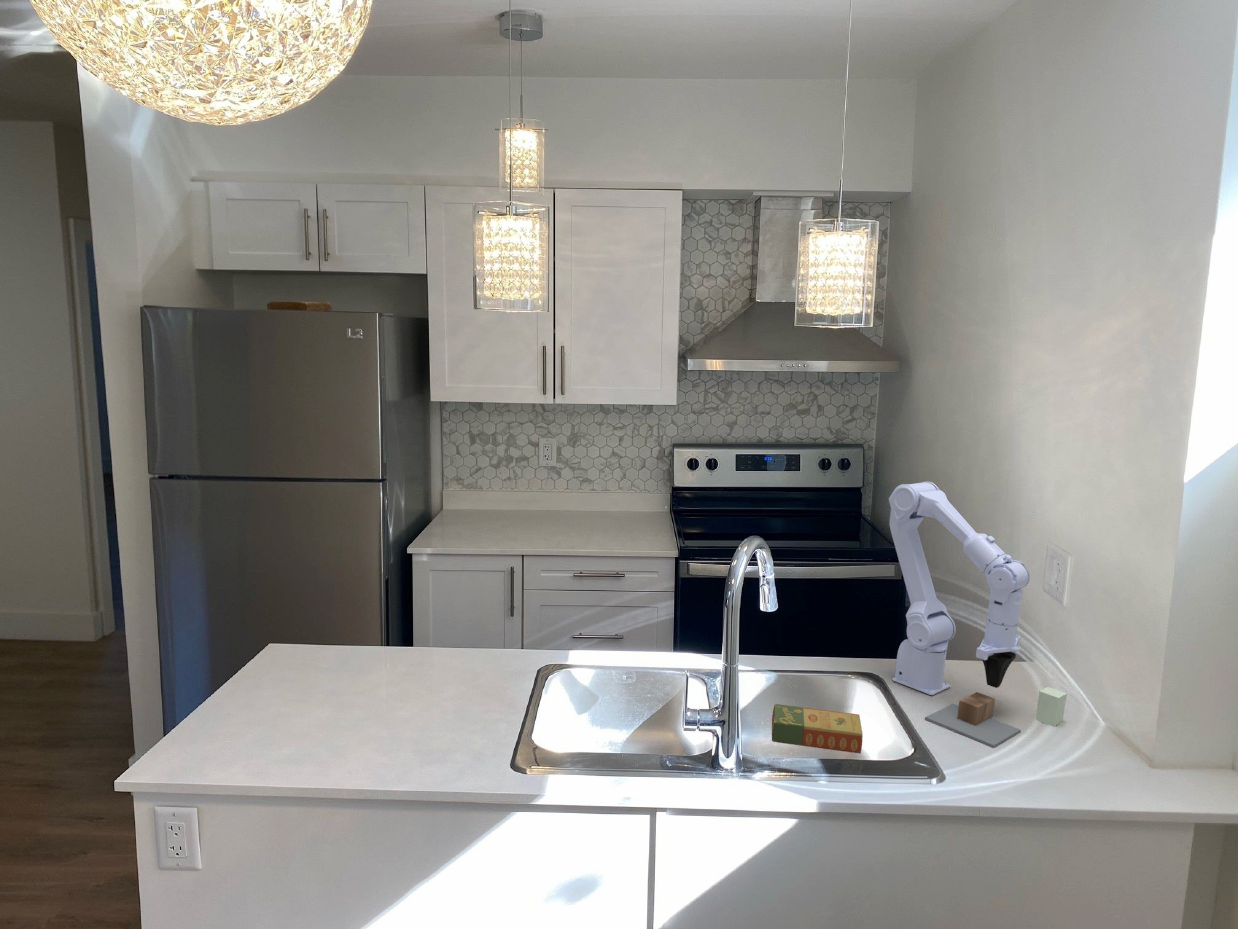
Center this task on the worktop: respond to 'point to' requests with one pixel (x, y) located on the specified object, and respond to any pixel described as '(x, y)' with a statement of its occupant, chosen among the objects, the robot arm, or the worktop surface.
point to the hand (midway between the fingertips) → (993, 685)
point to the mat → (973, 727)
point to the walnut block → (976, 708)
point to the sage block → (1051, 706)
